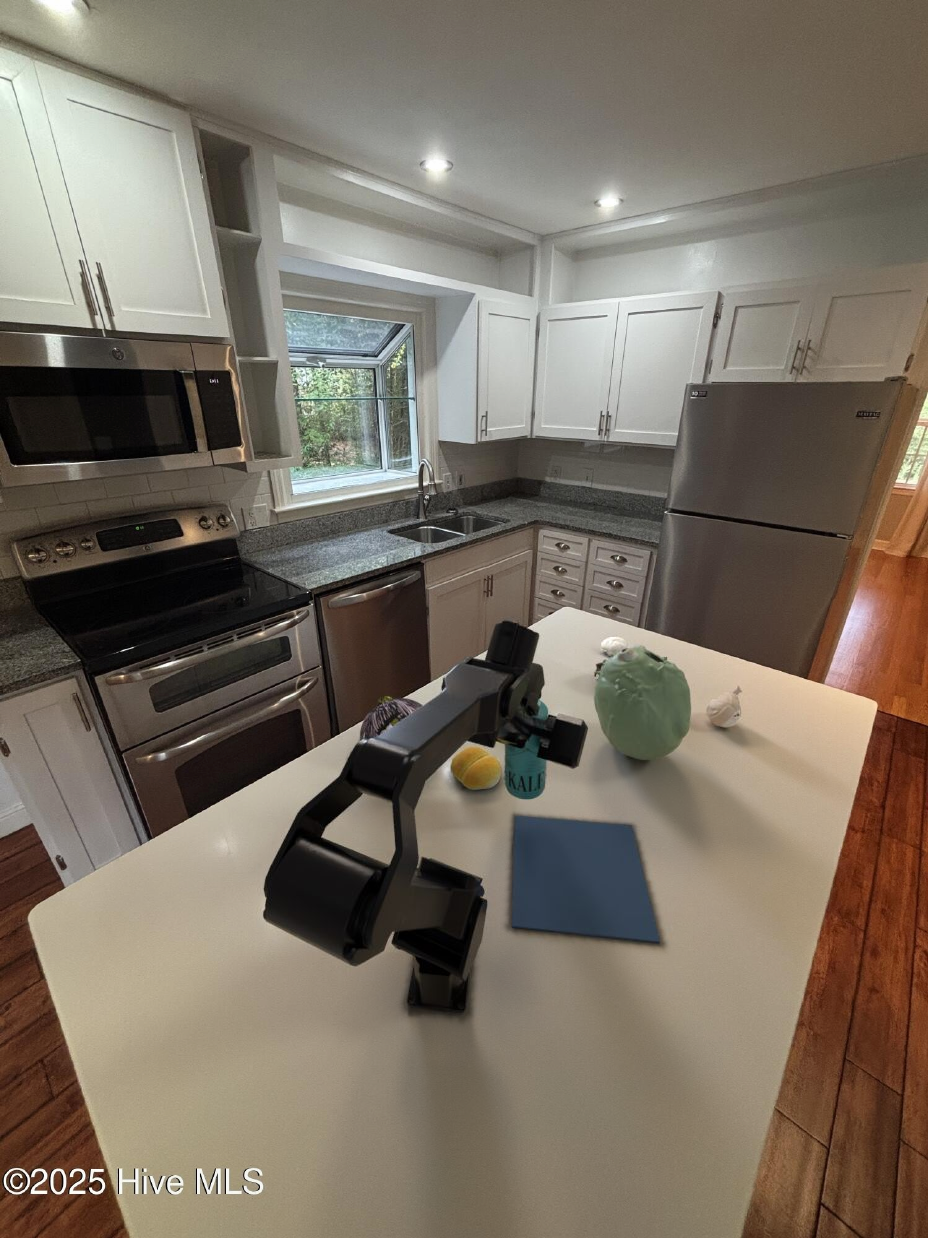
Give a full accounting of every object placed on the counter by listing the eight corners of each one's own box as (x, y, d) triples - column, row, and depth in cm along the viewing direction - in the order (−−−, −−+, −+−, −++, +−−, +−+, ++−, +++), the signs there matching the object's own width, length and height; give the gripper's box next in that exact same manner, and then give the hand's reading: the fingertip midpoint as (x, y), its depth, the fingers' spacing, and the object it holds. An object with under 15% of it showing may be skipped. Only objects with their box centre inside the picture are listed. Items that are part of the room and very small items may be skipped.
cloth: (659, 943, 61) (660, 941, 60) (511, 927, 62) (511, 925, 62) (631, 826, 77) (631, 825, 77) (514, 816, 79) (514, 815, 79)
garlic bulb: (744, 733, 98) (754, 699, 94) (711, 733, 98) (720, 698, 94) (729, 713, 104) (737, 680, 100) (698, 713, 104) (705, 680, 100)
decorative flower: (411, 673, 100) (426, 692, 86) (433, 723, 103) (450, 749, 88) (343, 704, 97) (347, 729, 83) (367, 755, 100) (374, 788, 85)
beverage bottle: (524, 773, 82) (526, 665, 74) (555, 795, 77) (560, 682, 69) (495, 792, 78) (493, 680, 70) (525, 816, 73) (527, 699, 66)
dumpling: (629, 654, 128) (632, 643, 125) (618, 664, 125) (620, 653, 122) (607, 641, 132) (609, 630, 129) (595, 650, 129) (597, 639, 126)
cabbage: (645, 796, 83) (665, 694, 74) (568, 735, 97) (577, 644, 89) (704, 762, 90) (728, 666, 82) (624, 710, 105) (637, 625, 96)
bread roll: (477, 800, 82) (477, 781, 80) (443, 771, 88) (443, 753, 86) (512, 776, 87) (513, 758, 85) (478, 751, 93) (478, 733, 91)
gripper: (592, 670, 60) (602, 701, 73) (455, 639, 68) (487, 673, 81) (568, 761, 57) (583, 776, 70) (427, 718, 64) (465, 739, 78)
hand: (527, 737), depth 75 cm, fingers closed on beverage bottle, 6 cm apart
